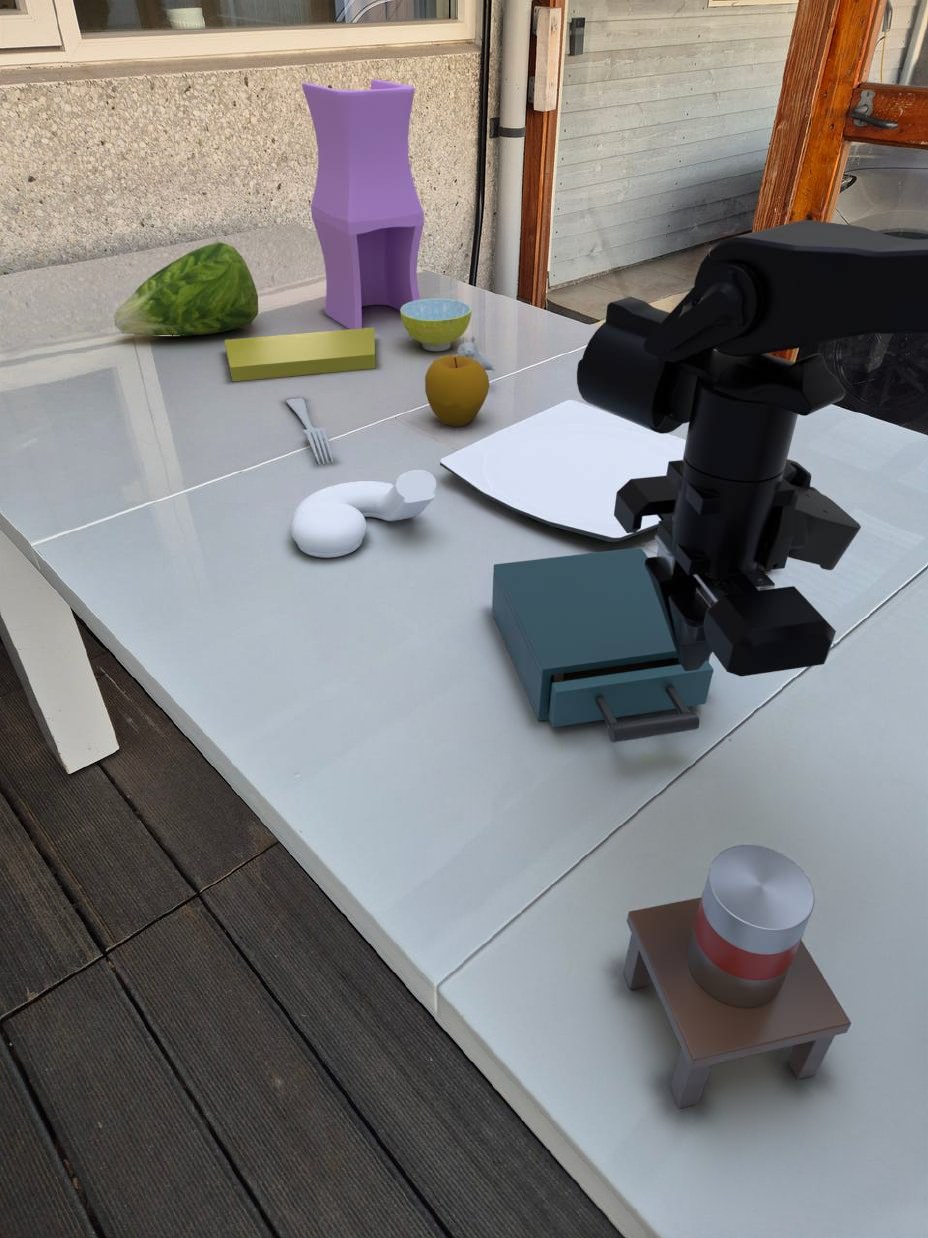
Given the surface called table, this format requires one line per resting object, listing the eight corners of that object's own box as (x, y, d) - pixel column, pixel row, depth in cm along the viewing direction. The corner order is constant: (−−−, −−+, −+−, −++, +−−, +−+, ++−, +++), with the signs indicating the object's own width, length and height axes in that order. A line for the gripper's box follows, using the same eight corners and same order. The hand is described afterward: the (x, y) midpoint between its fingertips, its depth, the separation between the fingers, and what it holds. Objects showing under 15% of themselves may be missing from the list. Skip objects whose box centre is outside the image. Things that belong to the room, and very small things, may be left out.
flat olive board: (232, 381, 132) (390, 366, 137) (230, 367, 131) (390, 352, 136) (226, 353, 141) (374, 340, 147) (224, 339, 140) (374, 327, 145)
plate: (617, 570, 92) (620, 548, 90) (422, 480, 107) (421, 460, 106) (752, 477, 109) (756, 458, 107) (566, 411, 124) (568, 393, 123)
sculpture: (277, 516, 100) (268, 452, 95) (402, 492, 105) (399, 430, 100) (305, 571, 91) (297, 503, 86) (440, 542, 96) (440, 476, 91)
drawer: (731, 743, 71) (741, 707, 68) (571, 769, 68) (575, 733, 66) (640, 605, 86) (645, 572, 83) (506, 622, 83) (507, 589, 81)
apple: (491, 410, 124) (493, 348, 119) (483, 436, 118) (485, 371, 112) (431, 406, 125) (430, 344, 120) (420, 431, 119) (418, 367, 113)
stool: (823, 1080, 50) (852, 1023, 47) (675, 1116, 48) (693, 1060, 45) (748, 942, 57) (768, 883, 54) (616, 969, 56) (628, 911, 52)
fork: (305, 415, 128) (303, 396, 127) (337, 462, 111) (335, 440, 110) (286, 417, 127) (283, 398, 126) (315, 465, 110) (312, 444, 109)
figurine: (442, 397, 128) (442, 343, 123) (437, 381, 133) (437, 329, 128) (497, 394, 129) (498, 341, 124) (490, 379, 134) (492, 327, 129)
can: (801, 998, 48) (835, 919, 44) (711, 1018, 47) (737, 939, 43) (755, 915, 52) (782, 836, 48) (671, 932, 51) (691, 853, 47)
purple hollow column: (387, 298, 165) (378, 78, 144) (425, 319, 156) (422, 87, 135) (319, 310, 159) (300, 82, 138) (354, 332, 150) (339, 92, 129)
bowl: (387, 343, 146) (386, 305, 142) (444, 330, 151) (444, 293, 147) (426, 364, 138) (426, 324, 135) (485, 349, 144) (486, 311, 140)
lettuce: (129, 354, 152) (94, 276, 145) (259, 310, 157) (230, 232, 150) (134, 372, 141) (96, 287, 134) (273, 324, 145) (244, 240, 138)
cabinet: (701, 696, 76) (712, 645, 73) (538, 721, 74) (542, 669, 70) (633, 594, 88) (640, 546, 85) (491, 612, 86) (493, 564, 82)
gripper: (961, 525, 46) (874, 744, 55) (779, 387, 60) (734, 579, 69) (763, 549, 43) (707, 772, 53) (624, 400, 58) (600, 596, 67)
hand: (689, 667), depth 61 cm, fingers closed
